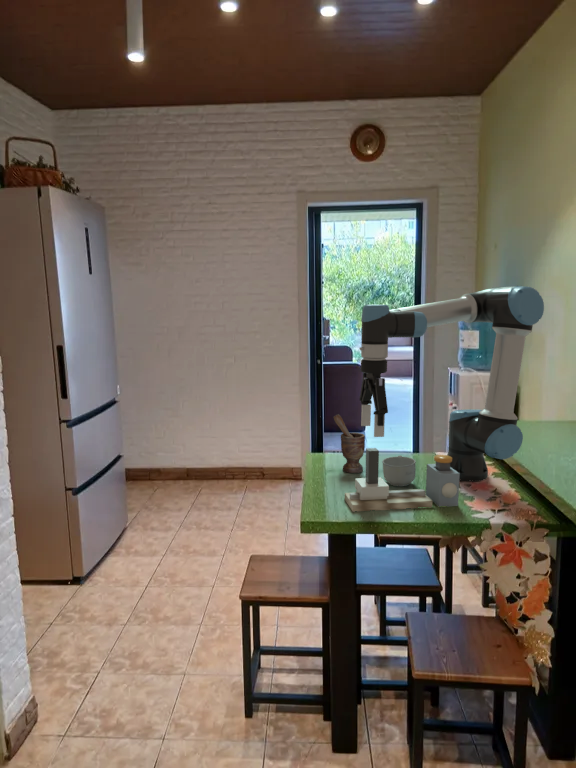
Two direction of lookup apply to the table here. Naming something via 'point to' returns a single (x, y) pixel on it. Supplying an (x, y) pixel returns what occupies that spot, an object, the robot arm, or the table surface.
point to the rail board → (390, 500)
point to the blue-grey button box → (442, 486)
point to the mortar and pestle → (351, 447)
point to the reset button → (443, 462)
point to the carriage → (372, 479)
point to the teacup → (399, 470)
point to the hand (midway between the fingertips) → (372, 431)
